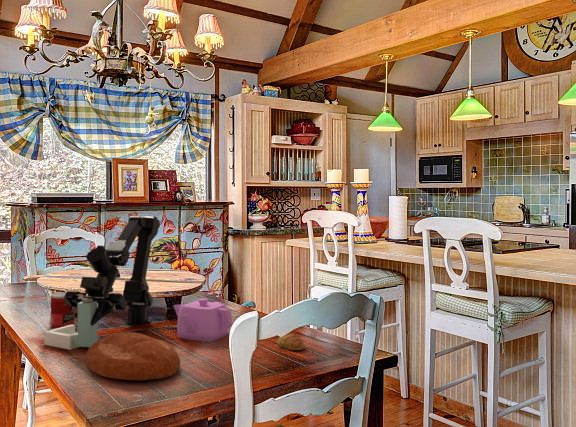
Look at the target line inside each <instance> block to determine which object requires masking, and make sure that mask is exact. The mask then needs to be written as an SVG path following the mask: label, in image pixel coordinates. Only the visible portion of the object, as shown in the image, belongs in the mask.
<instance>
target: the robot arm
mask: <svg viewBox="0 0 576 427" xmlns="http://www.w3.org/2000/svg"><path fill="white" fill-rule="evenodd" d="M127 220H128V222H127V224H126V225H125V227H124V228H123V230H122V232H121V233H120V234H119V237H118V238H117V239H116V241H115V242H113V243H111V244H110V245H108V247H107V248H106V247H105V246H104V245H97V246H96V247H95V248H92V249H91V250H90V251H89V252H87V253H86V255H85V256H86V260H87V262H88V263H89V265H90V266H91V268H92V269H93V271H94V272H95V273H97V275H96V277H93V276H91V277H90V276H82V277H81V282H80V286H79V288H80V289H81V288H82V289H84V292H85V294H87V295H85V294H82V293H81V291H80V290H69V291H67V292H66V294H65V296H64V298H65V300H66V301H67V302H68V303H69V305H70V306H71V307H75V309H76V308H77V309H78V303H80V302H82V299H84V298H93V301H97V309H96V311H95V314H94V316H93V318H92V321H91V325H92V326H93V325H94V324H96V323H97V324H98V322H99V321H100V320H102V319H103V318H104V317H106V316H107V315H109V314H110V313H113V312H114V308H115V310H116V311H126V309H127V307H128V310H127V320H125V323H126V324H131V325H134V326H138V325H139V326H140V325H143V324H148V323H152V320H150V319H149V307H152V305H153V301H154V298H153V297H152V294H151V293H150V291H149V290H150V288H149V284H148V282H147V280H146V278H147V272H148V265H149V260H150V253H151V248H152V247H151V246H152V241H153V240H154V239H155V237H156V236H157V235H158V232H159V228H160V226H161V222H160V219H158V217H157V216H154V215H153V216H152V215H149V216H148V215H131V216H129V217H128V219H127ZM136 238H137V243H136V251H135V255H134V262H133V266H132V267H133V268H132V274H131V277H130V278H129V279H128V280H125V282H124V289H123V291H122V293H119V292H118V293H116V292H115V293H114V290H115V289H114V288H113V286H114V284H115V281H116V280H117V279H121V273H120V270H119V269H118V267H125V266H126V265H127V263H128V261H129V258H130V257H131V256H130V248H131V246H132V245H133V244H134V242H135V240H136ZM76 320H77V321H76V323H77V324H78V317H77V319H76Z"/></svg>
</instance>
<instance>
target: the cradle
mask: <svg viewBox="0 0 576 427" xmlns="http://www.w3.org/2000/svg"><path fill="white" fill-rule="evenodd" d="M44 345H45V346H50V347H55V348H59V349H64V350H73V349H77V348H80V346H78V332H76V325H75V324H74V325H68V326H64V327H60V328H54V329H50V330H46V331H44Z"/></svg>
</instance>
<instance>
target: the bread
mask: <svg viewBox="0 0 576 427" xmlns="http://www.w3.org/2000/svg"><path fill="white" fill-rule="evenodd" d="M85 360H86V362H85V363H86V365H87V366H88V368H89V369H90V370H91V372H94V373H95V374H98V375H100V376H102V377H105V378H109V379H110V378H111V379H114V380H115V379H118V380H128V381H137V382H138V381H140V382H141V381H150V380H151V381H152V380H162V379H165V378H168V377H171V376H173V375H174V374H175V373H177V372H178V370H179V369H180V366H181V358H180V356H179V354H178V352H177V350H176V349H175V348H174V347H173V346H172V344H170V343H168V342H167V341H164V340H161V339H158V338H154V337H151V336H149V335H146V334H143V333H138V332H128V331H127V332H116V333H113V334H109V335H106V336H104V337H102V338H101V339H100V340H97V342H95V343H94V344H93V345H92V346H91V347H88V349H87V351H86V356H85Z"/></svg>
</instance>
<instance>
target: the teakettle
mask: <svg viewBox="0 0 576 427" xmlns="http://www.w3.org/2000/svg"><path fill="white" fill-rule="evenodd" d="M173 309H174V311H175V314H176V316H177V324H176V325H177V326H176V333H177V336H178V338H181V339H184V340H191V341H197V342H203V343H211V342H215V341H217V340H219V339H222V338H223V337H225V336H227V335H228V332H229V329H230V328H231V327H233V320H232V319H233V318H232V309H229V308H227V306H226V303H222V302H221V301H209V299H208V298H199V299H198V300H195V301H192V302H188V303H185V304H182V305H181V304H174V305H173Z"/></svg>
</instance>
